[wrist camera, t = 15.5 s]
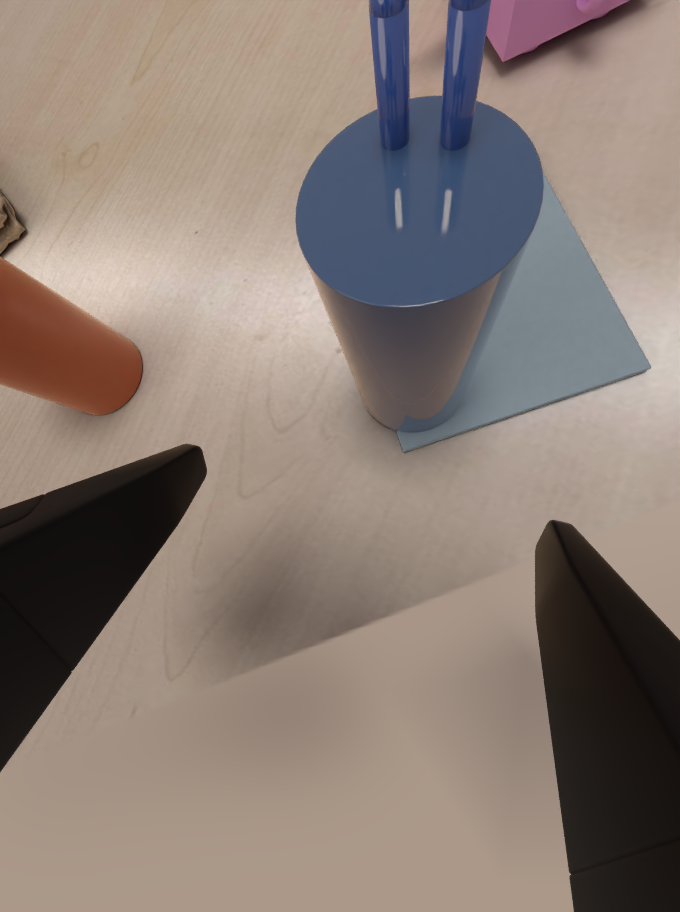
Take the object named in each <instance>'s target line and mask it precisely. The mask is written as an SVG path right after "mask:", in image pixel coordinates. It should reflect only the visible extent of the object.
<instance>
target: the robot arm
mask: <svg viewBox="0 0 680 912" xmlns="http://www.w3.org/2000/svg"><path fill="white" fill-rule="evenodd" d="M206 474H207V468H206V464H205V460H204V456H203V452H202V449H201V448H200V447H199V446H196V445H191V444H183V445H180V446H178V447H175V448H172V449H169V450H166V451H163V452H161V453H158V454H155V455H152V456H149V457H147V458H144V459H141V460H138V461H135V462H133V463H130V464H127V465H124V466H121V467H118V468H116V469H113V470H110V471H107V472H104V473H102V474H99V475H96V476H93V477H90V478H88V479H85V480H82V481H79V482H76V483H73V484H71V485H68V486H65V487H62V488H59V489H57V490H54V491H51V492H48V493H46V494H45V495H44V494H42V495H39V496H37V497H34V498H31V499H28V500H25V501H22V502H20V503H17V504H14V505H11V506H8V507H5V508H2V509H0V772H1V770H2V769H3V768H4V766H5V765H6V764H7V762H8V761H9V759H10V758H11V757H12V755H13V754H14V752H15V751H16V750H17V748H18V747H19V745H20V744H21V743H22V741H23V740H24V738H25V737H26V736H27V734H28V733H29V731H30V730H31V729H32V727H33V726H34V725H35V723H36V722H37V720H38V719H39V718H40V716H41V715H42V713H43V712H44V711H45V709H46V708H47V706H48V705H49V704H50V702H51V701H52V699H53V698H54V697H55V695H56V694H57V692H58V691H59V690H60V688H61V687H62V686H63V684H64V683H65V681H66V680H67V679H68V677H69V676H70V674H71V673H72V672H71V671H73V670H74V668H75V667H76V666H77V664H78V663H79V662H80V660H81V659H82V657H83V656H84V655H85V653H86V652H87V650H88V649H89V648H90V646H91V645H92V643H93V642H94V641H95V639H96V638H97V637H98V635H99V634H100V632H101V631H102V630H103V628H104V627H105V625H106V624H107V623H108V621H109V620H110V618H111V617H112V616H113V614H114V613H115V611H116V610H117V609H118V607H119V606H120V605H121V603H122V602H123V600H124V599H125V598H126V596H127V595H128V593H129V592H130V591H131V589H132V588H133V586H134V585H135V584H136V582H137V581H138V579H139V578H140V577H141V575H142V574H143V573H144V571H145V570H146V568H147V567H148V566H149V564H150V563H151V561H152V560H153V559H154V557H155V556H156V554H157V553H158V552H159V550H160V549H161V547H162V546H163V545H164V543H165V542H166V541H167V539H168V538H169V536H170V535H171V534H172V532H173V531H174V529H175V528H176V527H177V525H178V524H179V522H180V521H181V519H182V517H183V516H184V514H185V512H186V511H187V509H188V507H189V505H190V504H191V502H192V500H193V498H194V497H195V495H196V493H197V491H198V490H199V488H200V486H201V484H202V483H203V481H204V479H205V477H206ZM535 612H536V624H537V632H538V640H539V647H540V655H541V662H542V670H543V678H544V685H545V693H546V700H547V708H548V716H549V723H550V730H551V738H552V746H553V753H554V760H555V768H556V776H557V784H558V791H559V798H560V807H561V814H562V822H563V829H564V837H565V845H566V852H567V860H568V867H569V872H570V874H571V875H570V884H571V892H572V900H573V907H574V912H680V640H679V639H678V638H677V637H676V636H675V635H674V634H673V633H672V631H671V630H670V629H669V628H668V627H667V626H666V625H665V624H664V623H663V622H662V621H661V620H660V619H659V617H657V615H656V614H655V613H654V612H653V611H652V610H651V609H650V608H649V607H648V606H647V605H646V604H645V602H644V601H643V600H642V599H641V598H640V597H639V596H638V595H637V594H636V593H635V592H634V591H633V590H632V589H631V587H630V586H629V585H628V584H627V583H626V582H625V581H624V580H623V579H622V578H621V577H620V576H619V575H618V573H617V572H616V571H615V570H614V569H613V568H612V567H611V566H610V565H609V564H608V563H607V562H606V561H605V560H604V558H603V557H601V555H600V554H599V553H598V552H597V551H596V550H595V549H594V548H593V547H592V546H591V545H590V544H589V542H588V541H587V540H586V539H585V538H584V537H583V536H582V535H581V534H580V533H579V532H578V531H577V529H576V528H575V527H574V526H573V525H571V524H569V523H566V522H561V521H556V520H551V521H549V522H548V523H547V525H546V527H545V529H544V531H543V533H542V535H541V537H540V539H539V541H538V543H537V545H536V550H535Z"/></svg>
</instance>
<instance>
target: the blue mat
mask: <svg viewBox="0 0 680 912" xmlns="http://www.w3.org/2000/svg"><path fill="white" fill-rule="evenodd" d="M543 180H544V192H543V202H542V206H541V210H540V214H539V217H538V220H537V222H536V225H535V227H534V230H533V232H532V234H531V237H530V239H529V242H528V244H527V247H526V249H525V251H524V254H523V256H522V259H521V261H520V264H519V266H518V268H517V271H516V273H515V276H514V278H513V281H512V283H511V285H510V288H509V290H508V293H507V295H506V298H505V300H504V302H503V305H502V307H501V310H500V312H499V315H498V317H497V320H496V322H495V324H494V327H493V329H492V332H491V334H490V337H489V339H488V341H487V344H486V346H485V349H484V351H483V354H482V356H481V358H480V361H479V363H478V366H477V368H476V371H475V373H474V375H473V378H472V380H471V383H470V385H469V388H468V390H467V392H466V395H465V397H464V400H463V402H462V404H461V405H460V407H459V409H458V410H457V411H456V413H455V414H454V415H453V416H452V417H451V418H450V419H448V420H447V421H446V422H444V423H443V424H441V425H439V426H438V427H435V428H433V429H430V430H427V431H423V432H413V433H408V432H401V431H396V433H397V436H398V439H399V442H400V444H401V447H402V450H403V453H405V452H408V451H411V450H414V449H417V448H420V447H423V446H426V445H429V444H432V443H435V442H438V441H441V440H444V439H447V438H450V437H453V436H456V435H459V434H462V433H465V432H468V431H471V430H474V429H476V428H479V427H482V426H485V425H488V424H491V423H494V422H497V421H500V420H503V419H506V418H509V417H512V416H515V415H518V414H521V413H524V412H527V411H530V410H533V409H536V408H539V407H542V406H545V405H548V404H551V403H554V402H557V401H560V400H563V399H566V398H569V397H572V396H574V395H577V394H580V393H583V392H586V391H589V390H592V389H595V388H598V387H601V386H604V385H607V384H610V383H613V382H616V381H619V380H622V379H625V378H628V377H631V376H634V375H637V374H640V373H643V372H645V371H647V370H648V369H650V368H651V366H650V364H649V362H648V360H647V358H646V357H645V355H644V353H643V351H642V349H641V348H640V346H639V344H638V342H637V340H636V339H635V337H634V335H633V333H632V331H631V330H630V328H629V326H628V324H627V322H626V321H625V319H624V317H623V315H622V313H621V312H620V310H619V308H618V306H617V304H616V302H615V301H614V299H613V297H612V295H611V293H610V292H609V290H608V288H607V286H606V284H605V283H604V281H603V279H602V277H601V275H600V274H599V272H598V270H597V268H596V266H595V265H594V263H593V261H592V259H591V257H590V256H589V254H588V252H587V250H586V248H585V247H584V245H583V243H582V241H581V239H580V237H579V236H578V234H577V232H576V230H575V228H574V227H573V225H572V223H571V221H570V219H569V218H568V216H567V214H566V212H565V210H564V209H563V207H562V205H561V203H560V201H559V200H558V198H557V196H556V194H555V192H554V191H553V189H552V187H551V185H550V183H549V182H548V180H547V178H546V176H545V174H544V172H543Z"/></svg>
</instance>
